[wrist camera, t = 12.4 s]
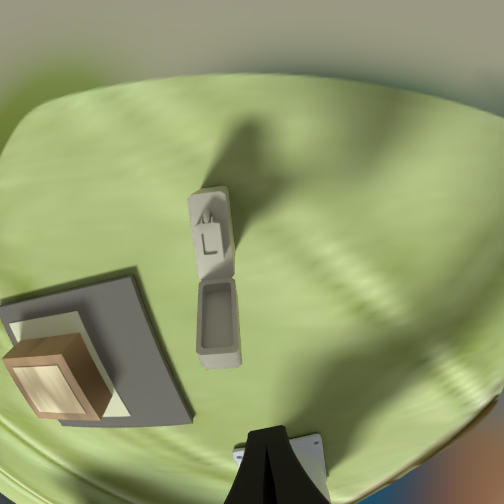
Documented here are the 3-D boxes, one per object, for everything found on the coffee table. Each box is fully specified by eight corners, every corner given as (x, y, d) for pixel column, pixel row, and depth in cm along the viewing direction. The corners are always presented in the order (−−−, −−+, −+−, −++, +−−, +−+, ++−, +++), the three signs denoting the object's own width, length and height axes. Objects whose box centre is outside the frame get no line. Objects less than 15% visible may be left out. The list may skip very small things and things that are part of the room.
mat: (193, 418, 23) (192, 424, 22) (64, 421, 23) (61, 426, 22) (133, 274, 19) (129, 277, 18) (0, 305, 19) (-5, 308, 19)
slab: (100, 421, 18) (37, 418, 18) (112, 395, 21) (51, 397, 21) (61, 354, 17) (1, 359, 17) (79, 332, 19) (20, 340, 20)
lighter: (198, 188, 18) (169, 205, 10) (228, 185, 18) (219, 199, 10) (214, 300, 20) (201, 378, 12) (240, 297, 20) (242, 375, 12)
